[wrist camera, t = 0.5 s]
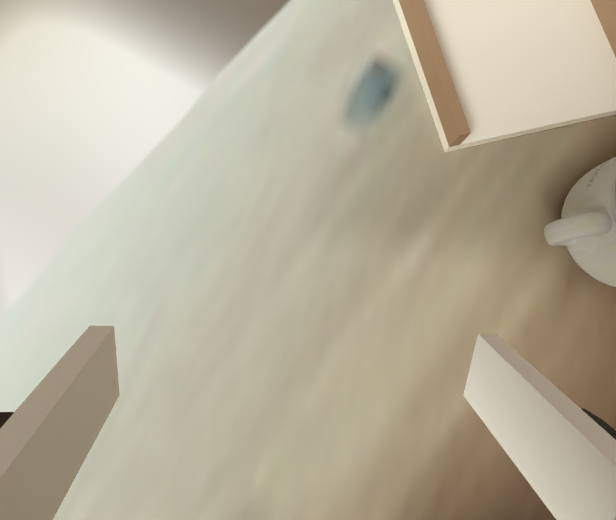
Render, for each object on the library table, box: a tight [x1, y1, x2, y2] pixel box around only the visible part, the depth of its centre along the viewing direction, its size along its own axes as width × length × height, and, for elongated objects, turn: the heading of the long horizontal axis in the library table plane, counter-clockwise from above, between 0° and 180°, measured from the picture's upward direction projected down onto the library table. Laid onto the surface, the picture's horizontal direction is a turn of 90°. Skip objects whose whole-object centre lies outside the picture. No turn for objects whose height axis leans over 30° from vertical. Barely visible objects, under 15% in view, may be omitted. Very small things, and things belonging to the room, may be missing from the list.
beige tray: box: [393, 0, 616, 152], centre depth 36 cm, size 16×37×3 cm, turn 104°
